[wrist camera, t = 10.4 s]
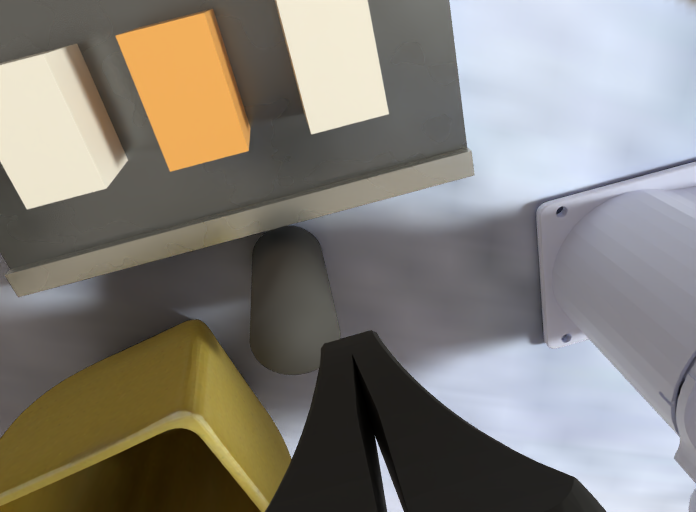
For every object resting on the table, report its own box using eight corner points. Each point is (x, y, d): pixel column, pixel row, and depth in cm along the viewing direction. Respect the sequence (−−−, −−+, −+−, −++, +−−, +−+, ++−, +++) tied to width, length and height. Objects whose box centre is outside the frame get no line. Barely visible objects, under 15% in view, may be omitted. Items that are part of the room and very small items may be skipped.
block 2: (212, 8, 17) (204, 12, 15) (250, 128, 19) (248, 151, 17) (137, 27, 17) (115, 35, 15) (182, 146, 19) (170, 171, 17)
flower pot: (216, 262, 23) (191, 410, 15) (304, 400, 27) (322, 575, 19) (35, 346, 23) (-82, 532, 15) (148, 469, 27) (102, 667, 19)
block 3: (347, -26, 18) (362, -28, 15) (371, 96, 19) (388, 113, 17) (272, -7, 17) (274, -6, 15) (304, 113, 19) (311, 134, 17)
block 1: (77, 43, 17) (43, 54, 15) (128, 160, 19) (106, 188, 16) (0, 62, 17) (-47, 77, 15) (59, 178, 19) (27, 209, 16)
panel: (413, -193, 17) (428, -210, 15) (460, 166, 22) (474, 180, 21) (-156, -50, 16) (-199, -54, 15) (37, 279, 22) (20, 301, 20)
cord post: (312, 217, 22) (328, 289, 17) (329, 277, 24) (348, 361, 19) (243, 236, 22) (237, 314, 17) (264, 295, 24) (264, 384, 19)
